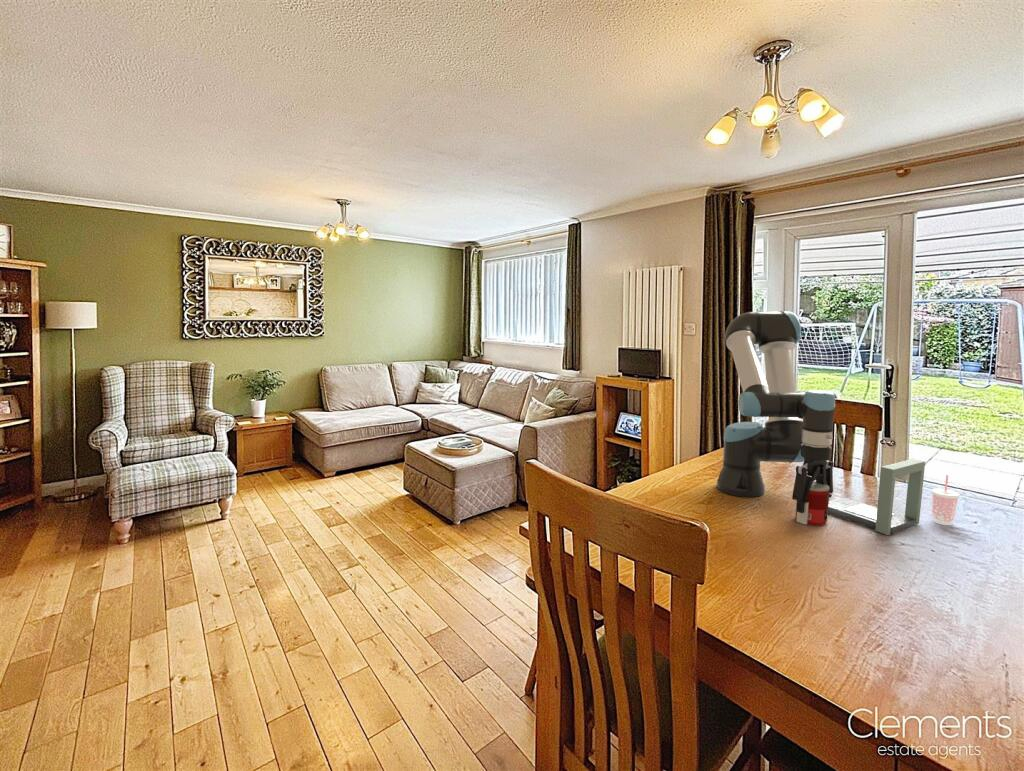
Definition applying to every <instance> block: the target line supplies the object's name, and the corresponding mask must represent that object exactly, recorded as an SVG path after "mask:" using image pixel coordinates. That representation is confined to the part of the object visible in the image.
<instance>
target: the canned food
mask: <svg viewBox="0 0 1024 771" xmlns="http://www.w3.org/2000/svg"><path fill="white" fill-rule="evenodd" d="M829 490H830V489H829V486H828V485H826V484H825V485H823V484H819V483H817V482H816V480H815V481H813V483H812V486H811V488H810V491H809V495H808V498H807V501H806V502H808V503H809V504H808V519H807V524H806V525H809V526H816V527H817V526H818V527H819V526H825V525H826V524H827V522H828V515H829V513H828V504H829V501H830V497H829ZM797 503H798V502H797V501H796V503H795V504H796V505H795V506H796V508H795V518H796V519H797Z"/></svg>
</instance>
